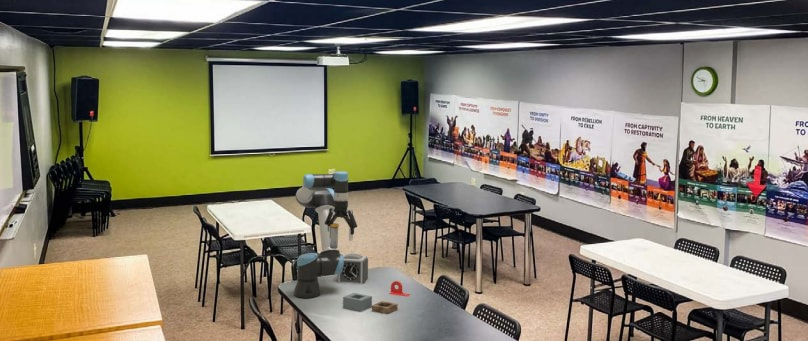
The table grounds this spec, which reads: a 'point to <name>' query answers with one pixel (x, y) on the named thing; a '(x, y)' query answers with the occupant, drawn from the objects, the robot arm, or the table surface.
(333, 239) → the pin
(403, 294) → the bracket
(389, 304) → the frame
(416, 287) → the table surface
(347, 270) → the alarm clock
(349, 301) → the block
